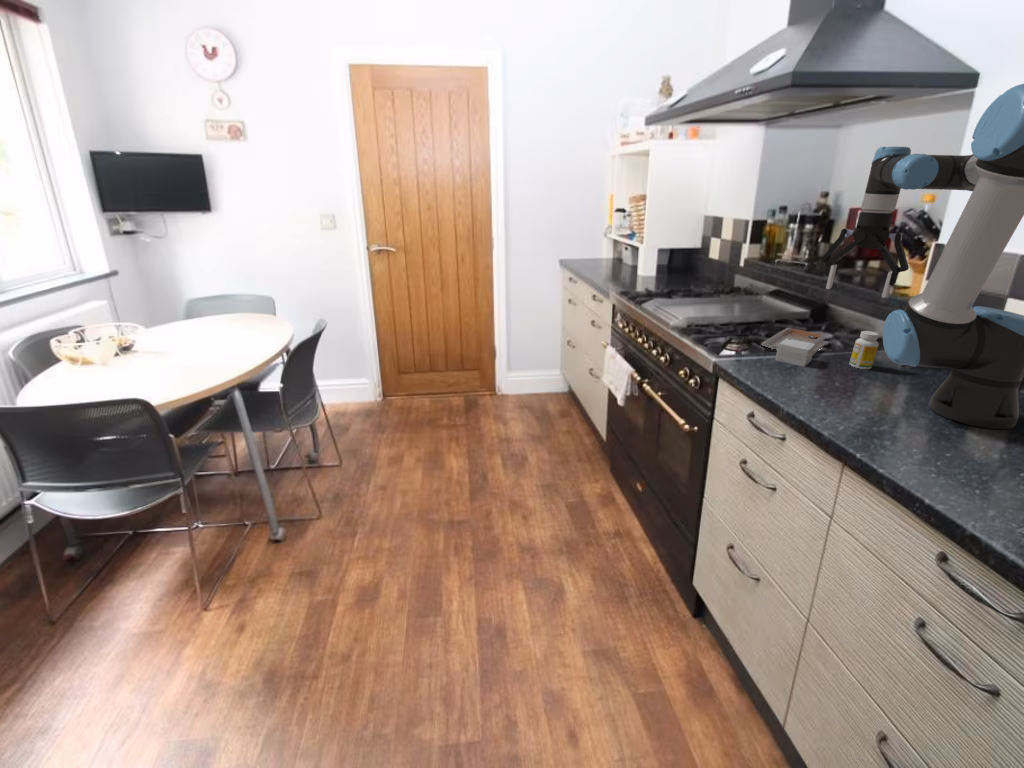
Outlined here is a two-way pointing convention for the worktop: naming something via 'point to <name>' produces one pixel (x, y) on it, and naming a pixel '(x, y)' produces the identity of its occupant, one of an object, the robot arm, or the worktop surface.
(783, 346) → the small box
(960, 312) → the robot arm
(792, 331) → the board
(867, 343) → the supplement bottle
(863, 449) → the worktop surface
